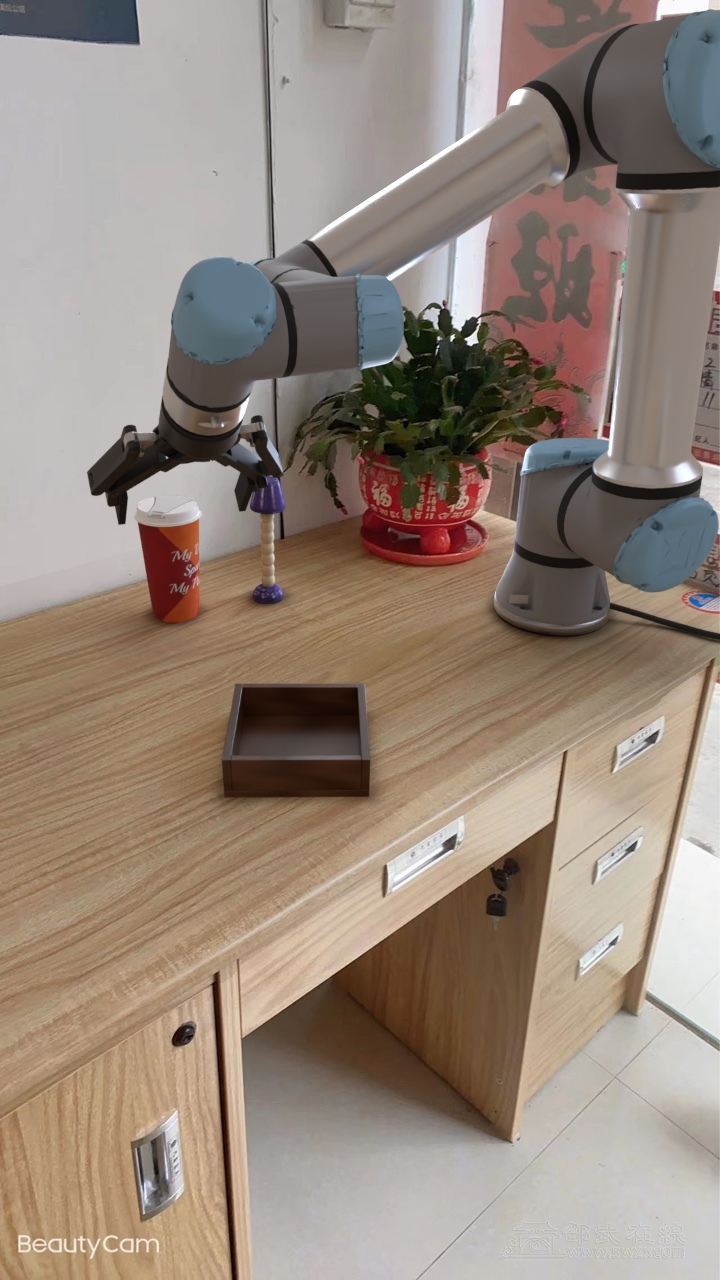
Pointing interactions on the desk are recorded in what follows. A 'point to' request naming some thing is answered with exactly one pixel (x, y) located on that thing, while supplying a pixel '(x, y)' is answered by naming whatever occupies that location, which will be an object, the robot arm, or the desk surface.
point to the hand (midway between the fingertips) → (181, 507)
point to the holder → (297, 741)
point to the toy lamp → (268, 538)
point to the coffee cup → (171, 555)
